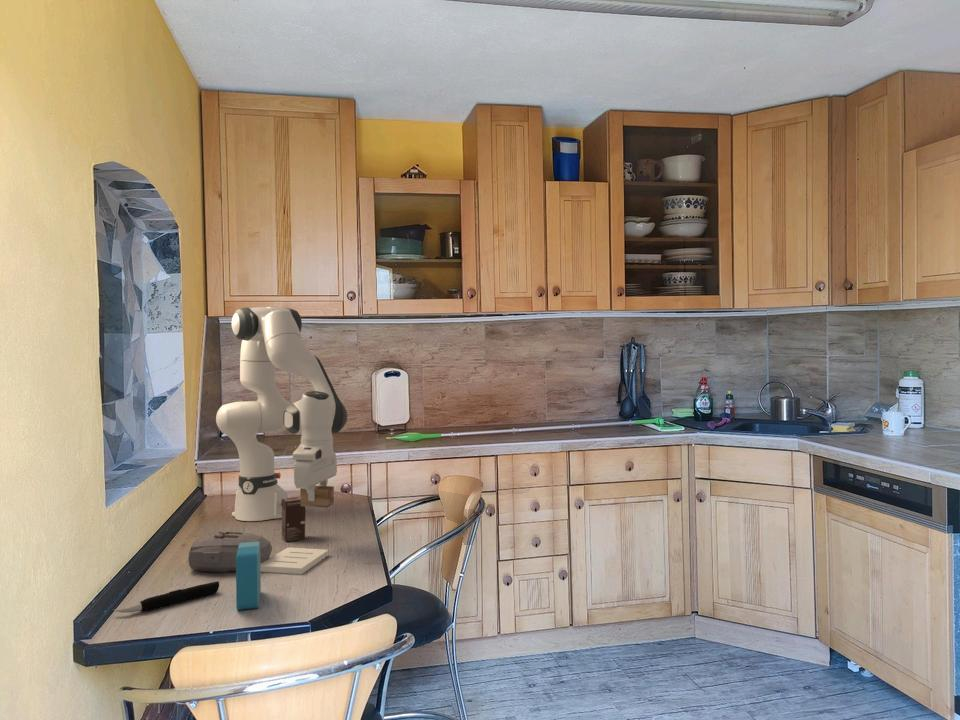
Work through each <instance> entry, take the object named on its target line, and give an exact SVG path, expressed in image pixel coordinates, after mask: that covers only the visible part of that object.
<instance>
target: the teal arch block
mask: <svg viewBox="0 0 960 720" xmlns="http://www.w3.org/2000/svg"><path fill="white" fill-rule="evenodd" d="M261 579H262V578H261V571H260V542H246V543H240V544H239V547H238V551H237V555H236V571H235V584H236V585H235V588H236V591H235V592H236V593H235V594H236V599H235V602H236V604H235V605H236V610H237V611H242V610H251V609H252V610H253V609H259V608H260V601H261V587H262V586H261V585H262V584H261V582H262V581H261Z"/></svg>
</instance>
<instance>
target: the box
mask: <svg viewBox="0 0 960 720" xmlns="http://www.w3.org/2000/svg"><path fill="white" fill-rule="evenodd" d="M305 539H306V506H300V496H296V497H294V496H293V497H288V498H285V499H282V518H281V540H282V541H284V542H291V541H297V540H298V541H299V540H305Z"/></svg>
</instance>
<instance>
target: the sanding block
mask: <svg viewBox="0 0 960 720" xmlns="http://www.w3.org/2000/svg"><path fill="white" fill-rule="evenodd" d="M299 490H300V495H299V497H300V506H305V508H306V507H308V508H309V507H310V508H322V509H323V508H324V509H327V508H329V507H331V506H333V505H334V504H335V487H334V485H333V486H329V485H327V486H319V485H315V489H314V491H315V494H316V500H314V501H309V500H308V493H307V491H306V489H299Z"/></svg>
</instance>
